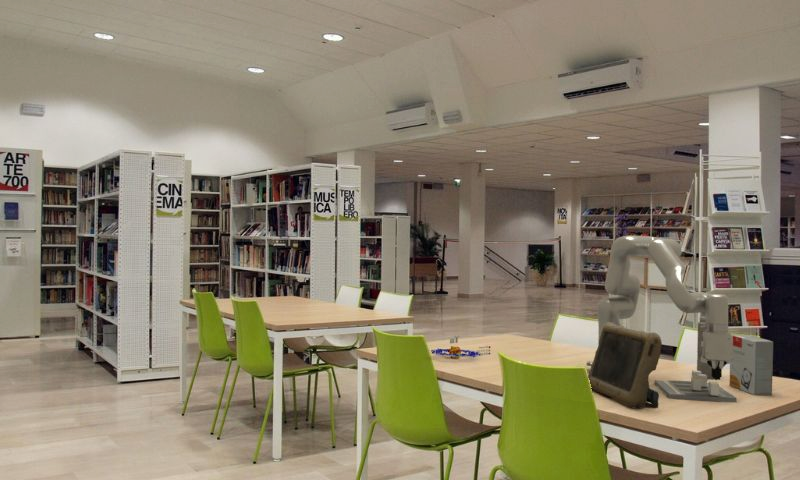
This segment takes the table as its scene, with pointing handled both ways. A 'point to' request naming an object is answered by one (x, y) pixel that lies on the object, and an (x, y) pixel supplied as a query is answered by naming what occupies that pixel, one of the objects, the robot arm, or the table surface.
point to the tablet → (626, 365)
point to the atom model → (458, 351)
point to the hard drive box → (752, 364)
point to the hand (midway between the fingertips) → (716, 379)
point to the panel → (691, 391)
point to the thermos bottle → (700, 365)
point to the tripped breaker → (695, 383)
